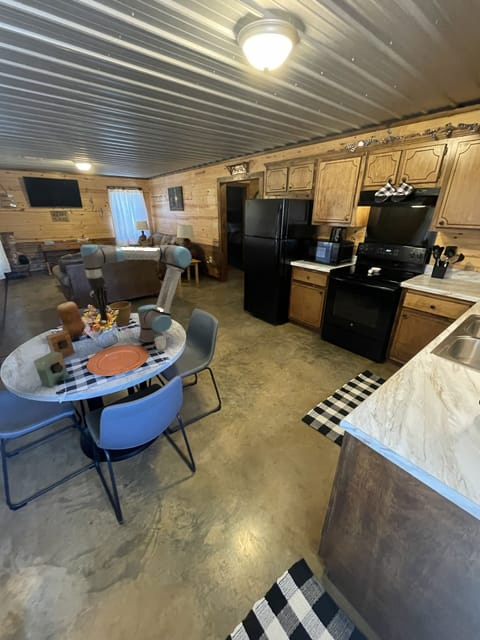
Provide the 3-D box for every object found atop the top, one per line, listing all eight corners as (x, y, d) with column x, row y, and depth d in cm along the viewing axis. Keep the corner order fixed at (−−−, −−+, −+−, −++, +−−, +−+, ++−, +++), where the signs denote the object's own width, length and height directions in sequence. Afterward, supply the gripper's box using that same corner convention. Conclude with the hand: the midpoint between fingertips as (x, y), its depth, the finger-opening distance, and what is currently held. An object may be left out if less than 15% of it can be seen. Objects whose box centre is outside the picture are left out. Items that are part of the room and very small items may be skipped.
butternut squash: (65, 335, 183) (55, 301, 173) (87, 331, 189) (78, 298, 179) (64, 343, 172) (54, 307, 162) (87, 338, 178) (78, 304, 168)
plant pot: (119, 320, 207) (115, 301, 201) (137, 321, 206) (134, 301, 200) (108, 328, 194) (104, 307, 187) (128, 329, 192) (124, 308, 186)
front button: (64, 370, 133) (61, 363, 131) (56, 374, 129) (54, 367, 128) (59, 369, 134) (57, 362, 132) (51, 373, 130) (49, 366, 128)
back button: (69, 347, 155) (67, 341, 153) (62, 349, 152) (60, 343, 150) (66, 345, 157) (64, 339, 155) (59, 348, 153) (57, 342, 152)
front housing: (68, 375, 138) (61, 352, 133) (51, 387, 129) (42, 363, 124) (60, 374, 140) (52, 351, 134) (42, 385, 131) (33, 361, 126)
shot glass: (168, 345, 169) (167, 336, 166) (162, 350, 163) (161, 340, 160) (159, 344, 171) (158, 334, 168) (153, 349, 165) (151, 339, 162)
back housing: (74, 352, 161) (69, 332, 155) (57, 359, 153) (50, 338, 147) (69, 350, 164) (63, 329, 158) (52, 357, 156) (45, 336, 150)
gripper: (96, 273, 137) (105, 315, 147) (79, 279, 126) (90, 324, 135) (109, 274, 137) (118, 315, 146) (93, 280, 125) (104, 325, 134)
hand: (104, 320), depth 140 cm, fingers closed
